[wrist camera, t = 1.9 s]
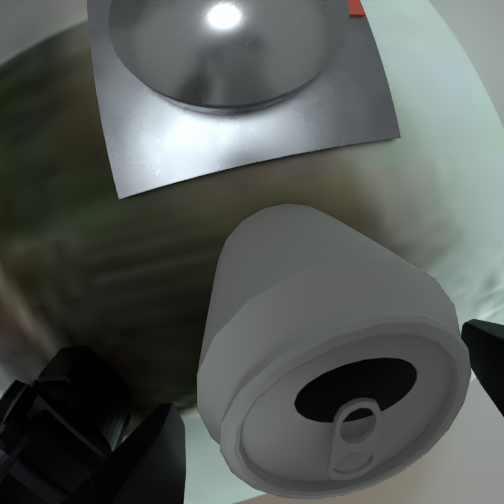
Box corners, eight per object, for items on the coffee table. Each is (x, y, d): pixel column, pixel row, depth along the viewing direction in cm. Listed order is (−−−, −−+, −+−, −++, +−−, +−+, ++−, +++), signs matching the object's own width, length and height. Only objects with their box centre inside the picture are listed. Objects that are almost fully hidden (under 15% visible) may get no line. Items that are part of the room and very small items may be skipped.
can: (351, 198, 16) (526, 265, 5) (347, 322, 18) (443, 476, 7) (211, 206, 16) (148, 309, 4) (224, 334, 18) (216, 522, 6)
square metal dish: (392, 138, 15) (425, 134, 12) (125, 197, 16) (99, 205, 12) (317, -71, 11) (328, -100, 8) (91, -27, 11) (70, -51, 8)
